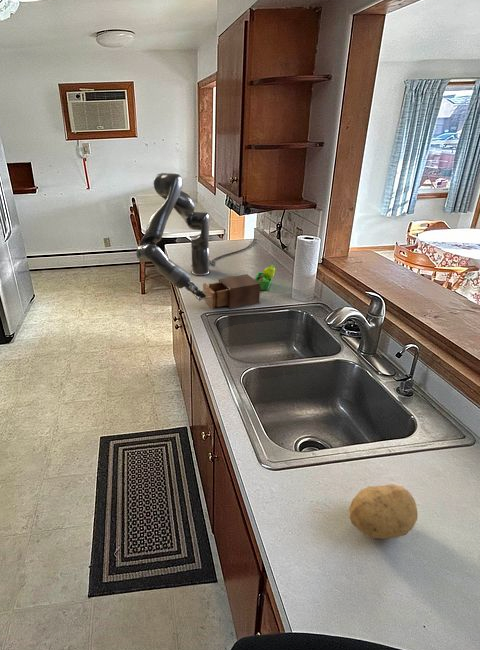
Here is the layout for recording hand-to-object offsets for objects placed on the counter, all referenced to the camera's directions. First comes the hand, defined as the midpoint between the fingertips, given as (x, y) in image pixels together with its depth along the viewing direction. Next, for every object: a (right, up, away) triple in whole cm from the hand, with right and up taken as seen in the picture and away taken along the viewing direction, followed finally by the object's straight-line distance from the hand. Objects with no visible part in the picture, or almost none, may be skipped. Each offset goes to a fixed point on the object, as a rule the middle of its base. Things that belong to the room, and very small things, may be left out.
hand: (203, 296), depth 173 cm
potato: (+29, -47, -94) cm, 109 cm away
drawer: (+6, -3, +3) cm, 7 cm away
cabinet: (+16, -2, +6) cm, 18 cm away
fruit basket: (+32, +5, +20) cm, 38 cm away
